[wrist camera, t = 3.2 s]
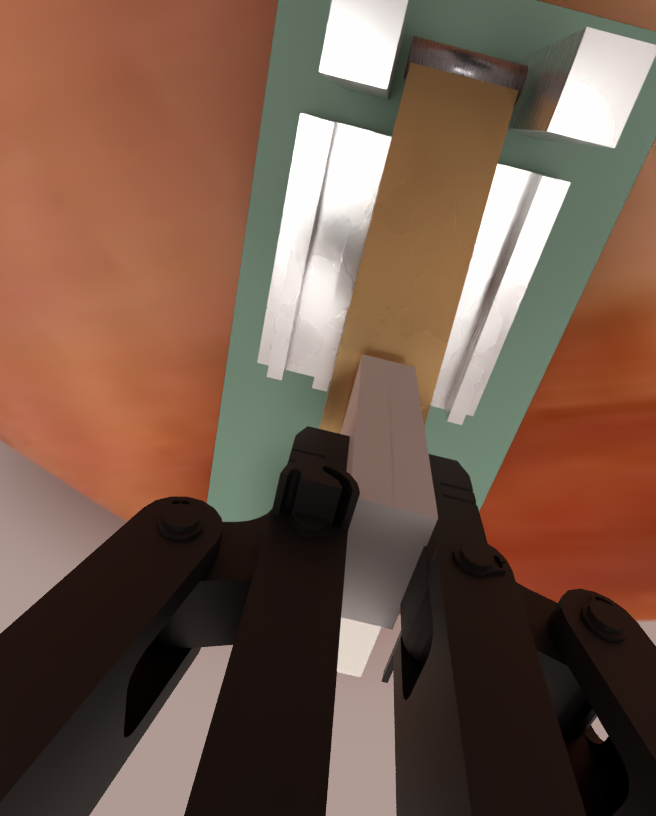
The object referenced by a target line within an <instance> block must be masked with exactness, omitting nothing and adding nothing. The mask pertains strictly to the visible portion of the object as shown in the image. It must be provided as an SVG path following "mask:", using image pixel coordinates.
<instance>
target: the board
mask: <svg viewBox="0 0 656 816" xmlns="http://www.w3.org/2000/svg"><path fill="white" fill-rule="evenodd" d="M331 2H332V0H278V7H277V14H276V21H275V28H274V35H273V42H272V49H271V56H270V63H269V70H268V77H267V84H266V91H265V98H264V105H263V112H262V119H261V126H260V133H259V140H258V147H257V154H256V161H255V168H254V175H253V182H252V189H251V196H250V203H249V210H248V217H247V225H246V232H245V239H244V246H243V253H242V260H241V267H240V274H239V281H238V288H237V295H236V302H235V309H234V316H233V323H232V330H231V337H230V344H229V351H228V358H227V365H226V372H225V379H224V386H223V393H222V400H221V407H220V414H219V421H218V428H217V435H216V442H215V450H214V457H213V464H212V471H211V478H210V485H209V492H208V499H207V504H208V505H210V506H212V507H213V508H215V510H216V511H217V512H218V514H219V515H220V516H221V518H222V521H223V522H239V521H249V520H253V519H256V518H259V517H261V516H263V515H265V514H267V513H268V512H269V511H270V510H271V509H272V508H273V504H274V499H275V495H276V490H277V486H278V481H279V477H280V473H281V472H282V470H283V469H284V468H285V466H286V465H287V463H288V460H289V456H290V453H291V450H292V446H293V443H294V439H295V436H296V434H298V433H299V432H300V431H302V430H303V429H304V428H306V427H307V426H310V427H314V428H318V429H319V427H320V423H321V419H322V415H323V411H324V407H325V403H326V399H327V395H328V391H329V387H330V383H331V381H330V382H329V386H328V390H327V392H326V391H322V390H318V389H314V388H312V385H313V381H314V377H313V376H309V375H305V374H301V373H297V372H293V371H288V370H286V371H285V374H284V376H283V379H282V380H278V379H274V378H269V377H267V372H268V367H269V366H268V365H264V364H260V363H257V361H258V355H259V349H260V343H261V337H262V332H263V326H264V320H265V314H266V309H267V303H268V297H269V291H270V285H271V280H272V274H273V268H274V262H275V257H276V251H277V245H278V239H279V234H280V228H281V222H282V216H283V210H284V205H285V199H286V193H287V187H288V182H289V176H290V170H291V164H292V158H293V153H294V147H295V141H296V135H297V130H298V124H299V118H300V113H306V114H310V115H314V116H318V117H322V118H326V119H330V120H334V121H337V122H341V123H345V124H349V125H353V126H357V127H361V128H365V129H369V130H372V131H376V132H380V133H384V134H388V135H392V133H393V129H394V125H395V121H396V117H397V113H398V109H399V105H400V101H401V97H402V93H403V89H404V85H405V81H406V79H404V78H403V75H404V70H405V66H406V62H407V58H408V54H409V50H410V46H411V42H412V39H413V36H417V37H420V38H424V39H428V40H432V41H436V42H440V43H443V44H447V45H451V46H455V47H459V48H463V49H466V50H470V51H474V52H478V53H482V54H486V55H489V56H493V57H497V58H501V59H505V60H509V61H512V62H516V63H519V61H520V59H521V58H523V57H525V56H527V55H529V54H531V53H533V52H535V51H537V50H539V49H542V48H544V47H546V46H548V45H550V44H552V43H554V42H556V41H558V40H561V39H563V38H565V37H567V36H569V35H571V34H573V33H575V32H577V31H579V30H582V29H584V28H586V27H589V28H593V29H597V30H601V31H605V32H608V33H612V34H616V35H620V36H624V37H627V38H631V39H635V40H639V41H643V42H646V43H650V44H654V45H656V32H655V31H651V30H647V29H644V28H640V27H636V26H632V25H628V24H625V23H621V22H617V21H613V20H609V19H606V18H602V17H598V16H594V15H590V14H587V13H583V12H579V11H575V10H571V9H568V8H564V7H560V6H556V5H552V4H549V3H545V2H541V1H537V0H410V1H409V7H408V13H407V19H406V24H405V30H404V34H403V38H402V42H401V46H400V50H399V55H398V59H397V63H396V67H395V71H394V75H393V79H392V84H391V88H390V92H389V96H388V100H387V99H383V98H380V97H376V96H372V95H368V94H364V93H360V92H356V91H352V90H349V89H345V88H341V87H340V86H338V85H337V84H335V83H334V82H333V81H331V80H330V79H328V78H327V77H325V76H324V75H323V74H321V73H320V72H319V68H320V63H321V57H322V52H323V46H324V41H325V35H326V30H327V24H328V19H329V13H330V8H331ZM655 138H656V56H655V58H654V60H653V62H652V65H651V67H650V69H649V72H648V74H647V76H646V78H645V81H644V83H643V85H642V87H641V90H640V92H639V94H638V96H637V99H636V101H635V103H634V105H633V108H632V110H631V112H630V114H629V117H628V119H627V121H626V124H625V126H624V128H623V130H622V133H621V135H620V137H619V139H618V142H617V144H616V146H615V148H607V147H599V146H590V145H582V144H574V143H566V142H558V141H549V140H542V139H538V138H534V137H530V136H527V135H523V134H519V133H515V132H511V131H507V133H506V136H505V140H504V143H503V147H502V150H501V154H500V158H499V161H498V163H501V164H505V165H508V166H512V167H516V168H520V169H524V170H528V171H532V172H536V173H540V174H543V175H547V176H551V177H555V178H559V179H562V180H565V181H568V182H571V183H570V186H569V188H568V190H567V193H566V195H565V198H564V200H563V202H562V205H561V207H560V210H559V212H558V214H557V217H556V219H555V221H554V224H553V226H552V229H551V231H550V233H549V236H548V238H547V241H546V243H545V245H544V248H543V250H542V253H541V255H540V257H539V260H538V262H537V265H536V267H535V269H534V272H533V274H532V277H531V279H530V281H529V284H528V286H527V289H526V291H525V293H524V296H523V298H522V301H521V303H520V305H519V308H518V310H517V313H516V315H515V317H514V320H513V322H512V325H511V327H510V329H509V332H508V334H507V336H506V339H505V341H504V344H503V346H502V348H501V351H500V353H499V356H498V358H497V360H496V363H495V365H494V368H493V370H492V372H491V375H490V377H489V380H488V382H487V384H486V387H485V389H484V392H483V394H482V396H481V399H480V401H479V404H478V406H477V408H476V411H475V413H474V416H470V415H466V416H465V419H464V421H463V424H462V425H459V424H455V423H451V422H447V419H446V414H445V409H442V408H438V407H434V406H430V409H429V412H428V416H427V420H426V423H425V427H424V428H425V435H426V442H427V448H428V454H432V455H436V456H440V457H444V458H448V459H452V460H456V461H458V462H459V463H460V465H461V466H462V467H463V468H464V469H465V471H466V472H467V473H468V474H469V476H470V480H471V483H472V487H473V493H474V495H475V498H476V505H477V506H478V510H480V508H481V506H482V504H483V502H484V500H485V498H486V496H487V494H488V491H489V489H490V487H491V485H492V483H493V481H494V479H495V477H496V475H497V472H498V470H499V468H500V466H501V464H502V462H503V460H504V458H505V455H506V453H507V451H508V449H509V447H510V445H511V443H512V441H513V439H514V436H515V434H516V432H517V430H518V428H519V426H520V424H521V422H522V419H523V417H524V415H525V413H526V411H527V409H528V407H529V405H530V403H531V400H532V398H533V396H534V394H535V392H536V390H537V388H538V386H539V383H540V381H541V379H542V377H543V375H544V373H545V371H546V369H547V367H548V364H549V362H550V360H551V358H552V356H553V354H554V352H555V350H556V348H557V345H558V343H559V341H560V339H561V337H562V335H563V333H564V331H565V328H566V326H567V324H568V322H569V320H570V318H571V316H572V314H573V312H574V309H575V307H576V305H577V303H578V301H579V299H580V297H581V295H582V292H583V290H584V288H585V286H586V284H587V282H588V280H589V278H590V276H591V273H592V271H593V269H594V267H595V265H596V263H597V261H598V259H599V256H600V254H601V252H602V250H603V248H604V246H605V244H606V242H607V240H608V237H609V235H610V233H611V231H612V229H613V227H614V225H615V223H616V220H617V218H618V216H619V214H620V212H621V210H622V208H623V206H624V204H625V201H626V199H627V197H628V195H629V193H630V191H631V189H632V187H633V185H634V182H635V180H636V178H637V176H638V174H639V172H640V170H641V168H642V165H643V163H644V161H645V159H646V157H647V155H648V153H649V151H650V149H651V146H652V144H653V142H654V140H655Z"/></svg>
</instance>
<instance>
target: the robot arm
mask: <svg viewBox="0 0 656 816" xmlns="http://www.w3.org/2000/svg"><path fill="white" fill-rule="evenodd" d="M400 610H401V632H400V634H399V637H398V639H397V641H396V644H395V646H394V648H393V651H392V654H391V656H390V658H389V660H388V663H387V666H386V668H385V670H384V673H383V678H382V682H386V683H388V681H389V678H390V676H391V674H392V671H394V714H395V715H394V716H395V762H396V805H397V806H396V809H397V816H656V646H655V645H654V644H653V642H652V641H651V640H650V638H649V637H648V636H647V634H646V633H645V632H644V631H643V629H642V628H641V627H640V625H639V624H638V623H637V622H636V621H635V620H634V619H633V618H632V617H631V615H630V614H629V613H628V612H627V611H626V610H625V609H623V608H622V607H620V606H619V605H618V604H616V603H615V602H613V601H612V600H611V599H609V598H606V597H605V596H602V595H600V594H598V593H596V592H593V591H588V590H583V589H575V590H568V591H567V592H566V593H565V594H564V595H563V596H562V597H561V599H560V601H559V602H558V603H556V602H554V601H552V600H550V599H548V598H546V597H544V596H542V595H540V594H538V593H535V592H533V591H531V590H529V589H527V588H526V587H524V586H522V585H520V584H518V583H517V582H516V581H515V578H514V575H513V572H512V569H511V567H510V566H509V564H508V562H507V560H506V559H505V558H504V557H503V556H502V555H501V554H500V553H499V552H498V551H497V550H496V549H495V548H494V547H492V546H490V545H489V544H488V543H487V540H486V536H485V532H484V528H483V525H482V521H481V517H480V513H479V510H478V506H477V505H476V498H475V495H474V493H473V487H472V483H471V480H470V476H469V474H468V473H467V472H466V471H465V469H464V468H463V467H462V466H461V465H460V463H459V462H458V461H456V460H452V459H448V458H444V457H440V456H436V455H432V454H428V448H427V442H426V435H425V428H424V422H423V415H422V409H421V402H420V396H419V389H418V383H417V376H416V370H415V367H412V366H408V365H404V364H400V363H396V362H392V361H388V360H384V359H380V358H376V357H372V356H368V355H364V354H362V357H361V360H360V364H359V368H358V371H357V375H356V379H355V382H354V386H353V389H352V393H351V397H350V400H349V404H348V408H347V411H346V415H345V418H344V422H343V426H342V429H341V433H340V434H339V433H334V432H330V431H326V430H322V429H318V428H314V427H310V426H307V427H306V428H304V429H303V430H302V431H300V432H299V433H298V434H296V436H295V439H294V443H293V446H292V450H291V453H290V456H289V460H288V463H287V465H286V466H285V468H284V469H283V470H282V472H281V473H280V477H279V481H278V486H277V490H276V495H275V499H274V504H273V508H272V509H271V510H270V511H269V512H268V513H267V514H265V515H263V516H261V517H259V518H256V519H253V520H249V521H239V522H222V518H221V516H220V515H219V514H218V512H217V511H216V510H215V508H213V507H212V506H210V505H208V504H207V503H205V502H204V501H201V500H197V499H194V498H190V497H168V498H163V499H159V500H156V501H154V502H152V503H151V504H149V505H147V506H146V507H144V508H143V509H142V510H140V511H139V512H138V513H137V514H136V515H135V516H134V517H132V518H131V519H130V520H129V521H128V522H127V523H126V524H125V525H124V526H122V527H121V528H120V529H119V530H118V531H117V532H115V533H114V534H113V535H112V536H111V537H110V538H109V539H107V540H106V541H105V542H104V543H103V544H102V545H101V546H100V547H98V548H97V549H96V550H95V551H94V552H93V553H92V554H90V555H89V556H88V557H87V558H86V559H85V560H84V561H83V562H81V563H80V564H79V565H78V566H77V567H76V568H75V569H73V570H72V571H71V572H70V573H69V574H68V575H67V576H65V577H64V578H63V579H62V580H61V581H60V582H59V583H58V584H56V585H55V586H54V587H53V588H52V589H51V590H50V591H49V592H47V593H46V594H45V595H44V596H43V597H42V598H41V599H39V600H38V601H37V602H36V603H35V604H34V605H33V606H31V607H30V608H29V609H28V610H27V611H26V612H25V613H24V614H22V615H21V616H20V617H19V618H18V619H17V620H16V621H15V622H13V623H12V624H11V625H10V626H9V627H8V628H7V629H5V630H4V631H3V632H2V633H1V634H0V816H89V815H90V813H91V812H92V811H93V809H94V808H95V806H96V805H97V803H98V802H99V800H100V799H101V797H102V796H103V794H104V793H105V791H106V790H107V788H108V787H109V785H110V784H111V782H112V781H113V779H114V778H115V777H116V775H117V773H118V772H119V771H120V769H121V768H122V766H123V765H124V763H125V762H126V760H127V758H128V757H129V756H130V754H131V753H132V751H133V750H134V748H135V747H136V745H137V744H138V742H139V741H140V739H141V738H142V736H143V735H144V733H145V732H146V730H147V729H148V727H149V726H150V724H151V723H152V721H153V720H154V719H155V717H156V715H157V714H158V713H159V711H160V710H161V708H162V707H163V705H164V704H165V702H166V701H167V699H168V698H169V696H170V695H171V693H172V692H173V690H174V689H175V687H176V686H177V684H178V683H179V681H180V680H181V678H182V677H183V675H184V674H185V673H186V671H187V670H188V668H189V667H190V665H191V664H192V662H193V661H194V659H195V658H196V656H197V655H198V653H199V651H200V649H201V647H208V646H222V645H233V648H232V651H231V655H230V658H229V662H228V665H227V669H226V672H225V676H224V679H223V683H222V686H221V690H220V693H219V697H218V700H217V703H216V707H215V711H214V714H213V718H212V721H211V724H210V728H209V731H208V735H207V738H206V742H205V745H204V748H203V752H202V755H201V759H200V763H199V766H198V770H197V773H196V776H195V780H194V783H193V787H192V790H191V794H190V797H189V800H188V804H187V807H186V811H185V814H184V816H326V802H327V790H328V777H329V765H330V752H331V740H332V727H333V714H334V702H335V688H336V676H337V664H338V651H339V638H340V626H341V617H342V618H346V619H350V620H355V621H359V622H363V623H368V624H372V625H376V626H380V627H385V628H389V629H393V626H394V624H395V622H396V619H397V617H398V615H399V612H400ZM596 717H598V718H599V720H600V722H601V724H602V725H603V727H604V729H605V730H606V732H607V734H608V735H609V737H608V738H607V739H606V741H602V740H601V739H600V738H599V737H598V735H597V734H596V733H595V732H594V730H593V728H592V726H591V724H592V722H593V721H594V720H595V719H596Z"/></svg>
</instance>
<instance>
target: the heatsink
mask: <svg viewBox="0 0 656 816" xmlns="http://www.w3.org/2000/svg"><path fill="white" fill-rule="evenodd" d="M409 1H410V0H332V2H331V8H330V13H329V19H328V24H327V30H326V35H325V41H324V46H323V52H322V57H321V63H320V68H319V72H320V73H321V74H323V75H324V76H325V77H327V78H328V79H330V80H331V81H333V82H334V83H335V84H337V85H338V86H340V87H341V88H345V89H349V90H352V91H356V92H360V93H364V94H368V95H372V96H376V97H380V98H383V99H387V100H388V96H389V92H390V88H391V84H392V79H393V75H394V71H395V67H396V63H397V59H398V55H399V50H400V46H401V42H402V38H403V34H404V30H405V24H406V19H407V13H408V7H409ZM655 56H656V45H654V44H650V43H646V42H643V41H639V40H635V39H631V38H627V37H624V36H620V35H616V34H612V33H608V32H605V31H601V30H597V29H593V28H589V27H586V28H584V29H582V30H579V31H577V32H575V33H573V34H571V35H569V36H567V37H565V38H563V39H561V40H558V41H556V42H554V43H552V44H550V45H548V46H546V47H544V48H542V49H539V50H537V51H535V52H533V53H531V54H529V55H527V56H525V57H523V58H521V59H520V61H519V63H520V64H524V65H528V73H527V77H526V81H525V84H524V87H523V90H522V92H521V95H520V97H519V99H518V101H517V103H516V104H515V106H514V107H513V111H512V115H511V118H510V122H509V125H508V129H507V131H511V132H515V133H519V134H523V135H527V136H530V137H534V138H538V139H542V140H549V141H558V142H566V143H574V144H582V145H590V146H599V147H607V148H615V146H616V144H617V142H618V139H619V137H620V135H621V133H622V130H623V128H624V126H625V124H626V121H627V119H628V117H629V114H630V112H631V110H632V108H633V105H634V103H635V101H636V99H637V96H638V94H639V92H640V90H641V87H642V85H643V83H644V81H645V78H646V76H647V74H648V72H649V69H650V67H651V65H652V62H653V60H654V58H655ZM391 137H392V135H388V134H384V133H380V132H376V131H372V130H369V129H365V128H361V127H357V126H353V125H349V124H345V123H341V122H337V121H334V120H330V119H326V118H322V117H318V116H314V115H310V114H306V113H300V118H299V124H298V130H297V135H296V141H295V147H294V153H293V158H292V164H291V170H290V176H289V182H288V187H287V193H286V199H285V205H284V210H283V216H282V222H281V228H280V234H279V239H278V245H277V251H276V257H275V262H274V268H273V274H272V280H271V285H270V291H269V297H268V303H267V309H266V314H265V320H264V326H263V332H262V337H261V343H260V349H259V355H258V361H257V363H260V364H264V365H268V366H269V367H268V372H267V377H269V378H274V379H278V380H282V379H283V376H284V374H285V371H286V370H288V371H293V372H297V373H301V374H305V375H309V376H313V377H314V381H313V385H312V388H314V389H318V390H322V391H326V392H327V390H328V386H329V382H330V381H331V379H332V374H333V370H334V366H335V362H336V358H337V354H338V350H339V346H340V342H341V338H342V334H343V330H344V326H345V322H346V318H347V314H348V310H349V306H350V302H351V298H352V294H353V290H354V286H355V282H356V278H357V274H358V270H359V266H360V262H361V258H362V254H363V250H364V246H365V242H366V238H367V234H368V230H369V226H370V222H371V218H372V214H373V210H374V206H375V202H376V198H377V194H378V190H379V186H380V182H381V178H382V174H383V170H384V166H385V161H386V157H387V153H388V149H389V145H390V141H391ZM570 183H571V182H568V181H565V180H562V179H559V178H555V177H551V176H547V175H543V174H540V173H536V172H532V171H528V170H524V169H520V168H516V167H512V166H508V165H505V164H501V163H498V165H497V168H496V172H495V176H494V179H493V183H492V186H491V190H490V194H489V197H488V201H487V204H486V208H485V211H484V215H483V219H482V222H481V226H480V229H479V233H478V237H477V240H476V244H475V247H474V251H473V255H472V258H471V262H470V265H469V269H468V273H467V276H466V280H465V283H464V287H463V290H462V294H461V298H460V301H459V305H458V308H457V312H456V316H455V319H454V323H453V326H452V330H451V334H450V337H449V341H448V344H447V348H446V351H445V355H444V359H443V362H442V366H441V369H440V373H439V377H438V380H437V384H436V387H435V391H434V395H433V398H432V402H431V405H430V406H434V407H438V408H442V409H445V414H446V419H447V422H451V423H455V424H459V425H462V424H463V421H464V419H465V416H466V415H470V416H474V413H475V411H476V408H477V406H478V404H479V401H480V399H481V396H482V394H483V392H484V389H485V387H486V384H487V382H488V380H489V377H490V375H491V372H492V370H493V368H494V365H495V363H496V360H497V358H498V356H499V353H500V351H501V348H502V346H503V344H504V341H505V339H506V336H507V334H508V332H509V329H510V327H511V325H512V322H513V320H514V317H515V315H516V313H517V310H518V308H519V305H520V303H521V301H522V298H523V296H524V293H525V291H526V289H527V286H528V284H529V281H530V279H531V277H532V274H533V272H534V269H535V267H536V265H537V262H538V260H539V257H540V255H541V253H542V250H543V248H544V245H545V243H546V241H547V238H548V236H549V233H550V231H551V229H552V226H553V224H554V221H555V219H556V217H557V214H558V212H559V210H560V207H561V205H562V202H563V200H564V198H565V195H566V193H567V190H568V188H569V186H570Z"/></svg>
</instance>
